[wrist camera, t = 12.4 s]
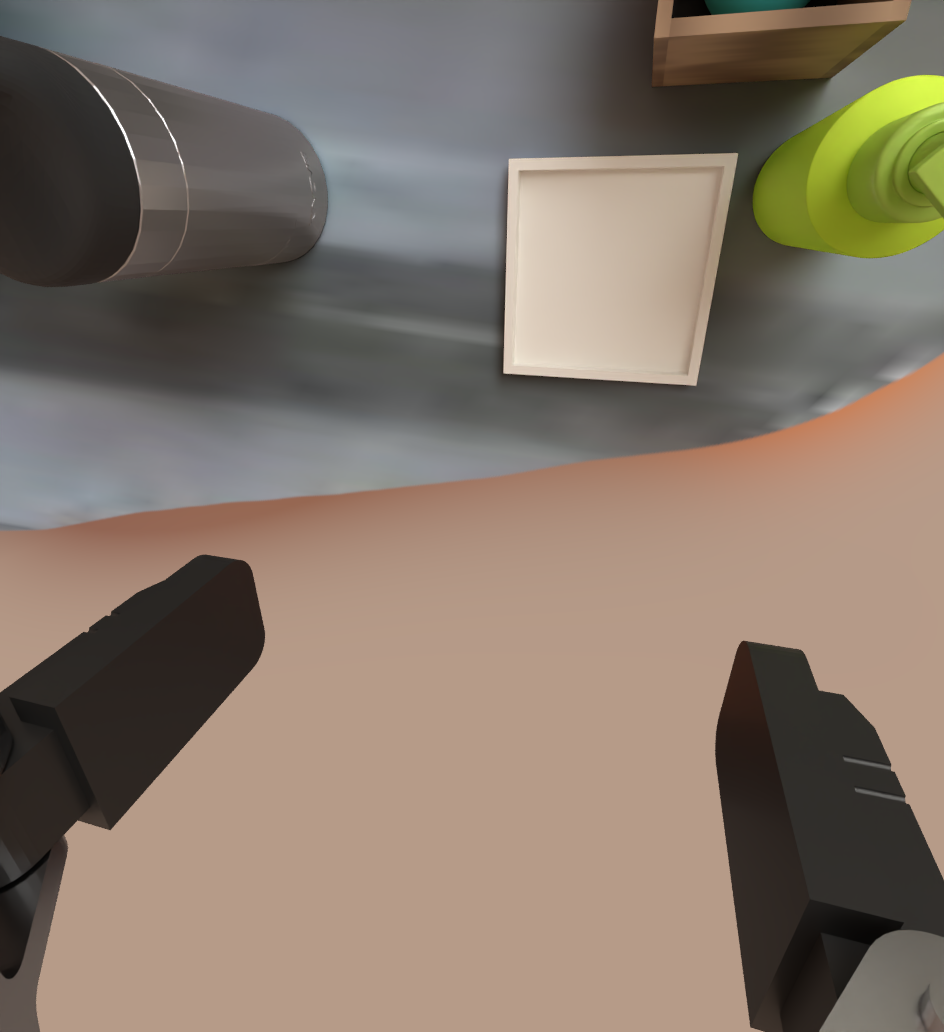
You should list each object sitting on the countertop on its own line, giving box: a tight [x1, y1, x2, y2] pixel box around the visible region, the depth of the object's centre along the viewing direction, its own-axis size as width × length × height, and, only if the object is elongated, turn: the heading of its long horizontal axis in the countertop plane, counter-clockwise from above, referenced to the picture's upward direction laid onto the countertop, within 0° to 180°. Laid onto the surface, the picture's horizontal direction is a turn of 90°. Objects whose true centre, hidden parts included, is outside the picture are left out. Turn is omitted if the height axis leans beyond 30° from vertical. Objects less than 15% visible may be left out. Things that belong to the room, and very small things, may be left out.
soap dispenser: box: [753, 75, 944, 258], centre depth 24 cm, size 6×7×20 cm
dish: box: [503, 153, 738, 386], centre depth 37 cm, size 13×13×1 cm
